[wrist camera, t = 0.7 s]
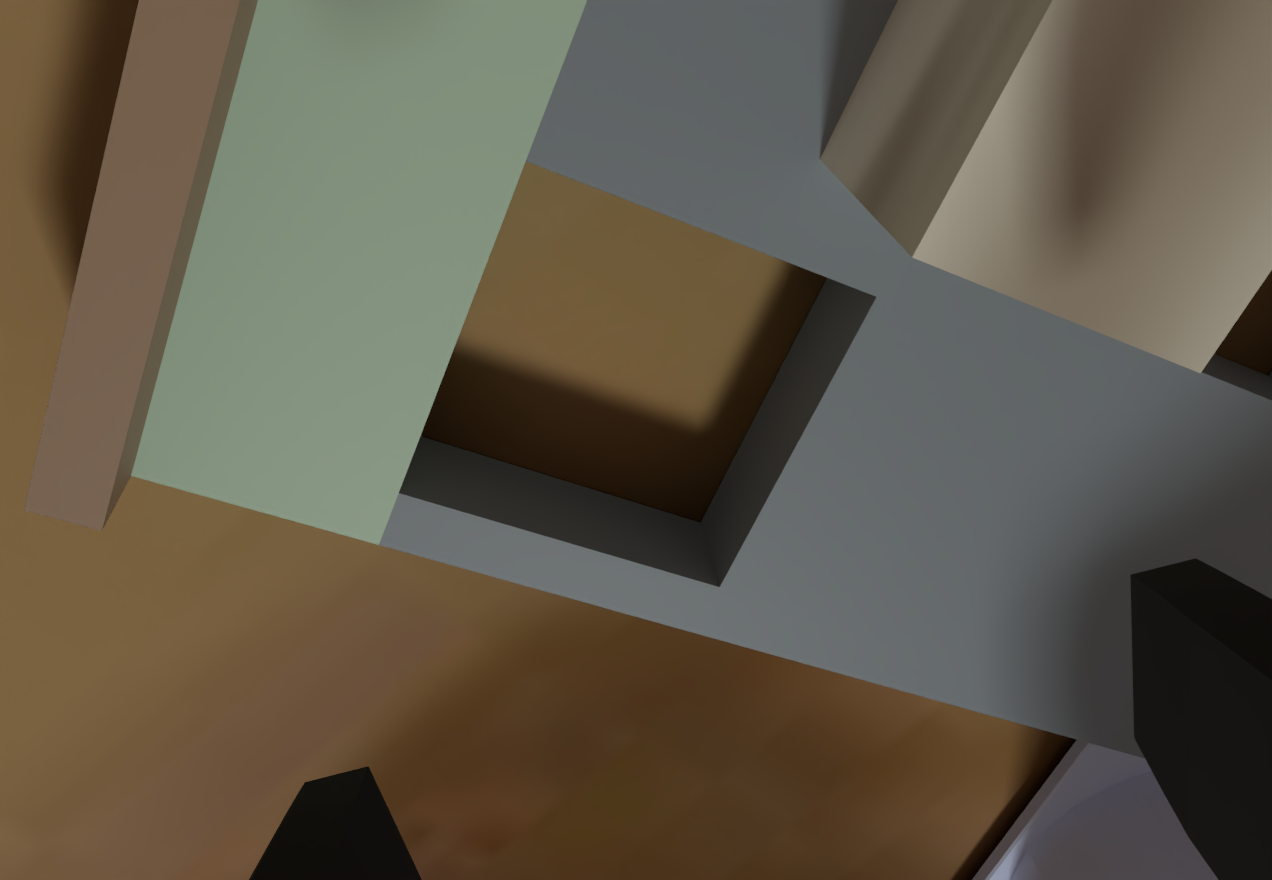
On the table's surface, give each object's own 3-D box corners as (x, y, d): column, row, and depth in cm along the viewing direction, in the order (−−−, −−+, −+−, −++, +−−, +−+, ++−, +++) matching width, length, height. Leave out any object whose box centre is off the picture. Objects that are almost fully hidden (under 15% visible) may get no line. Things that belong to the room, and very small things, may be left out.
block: (1215, -9, 16) (1426, 44, 12) (1055, 258, 17) (1199, 373, 14) (966, -140, 14) (1119, -122, 11) (819, 159, 16) (912, 257, 13)
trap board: (1631, -21, 18) (1861, 14, 15) (1101, 691, 24) (1190, 818, 21) (385, -772, 13) (353, -957, 10) (100, 395, 19) (23, 510, 16)
